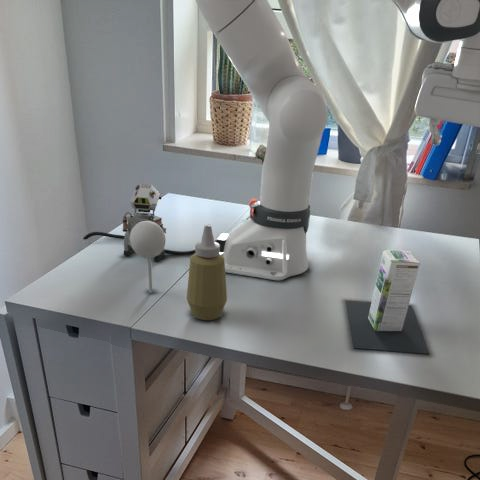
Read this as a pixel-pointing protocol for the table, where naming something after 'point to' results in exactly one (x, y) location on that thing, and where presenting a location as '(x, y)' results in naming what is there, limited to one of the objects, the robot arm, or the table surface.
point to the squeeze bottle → (207, 279)
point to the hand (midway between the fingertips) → (457, 149)
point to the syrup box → (393, 290)
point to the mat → (384, 332)
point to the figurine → (142, 214)
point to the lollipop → (147, 242)
